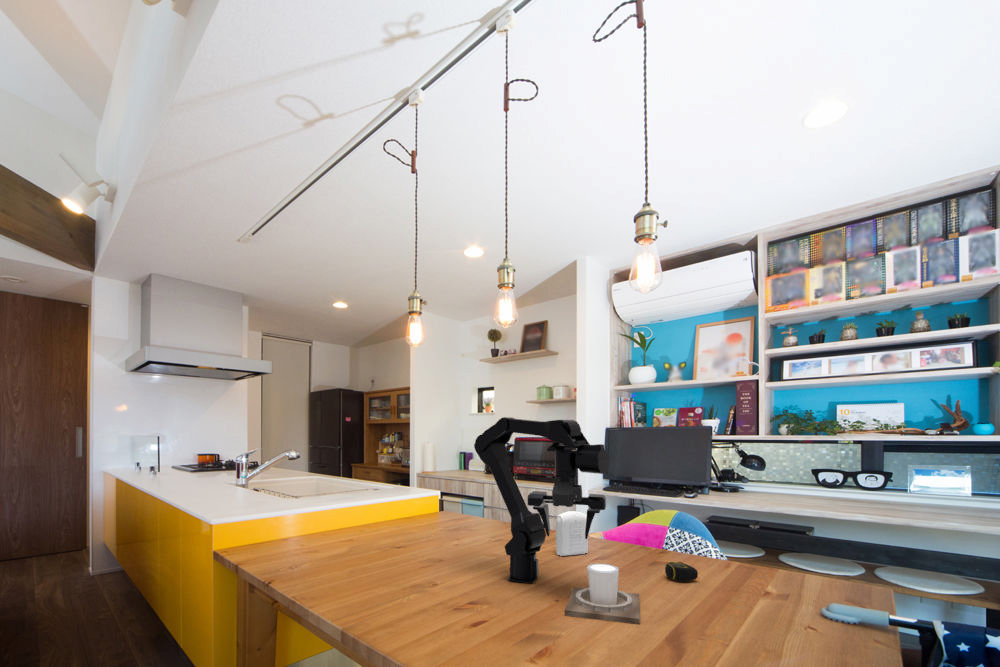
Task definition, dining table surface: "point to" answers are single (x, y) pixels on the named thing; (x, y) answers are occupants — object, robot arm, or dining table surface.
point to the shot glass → (603, 583)
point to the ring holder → (604, 607)
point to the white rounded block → (571, 533)
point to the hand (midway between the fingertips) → (567, 537)
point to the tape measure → (680, 571)
